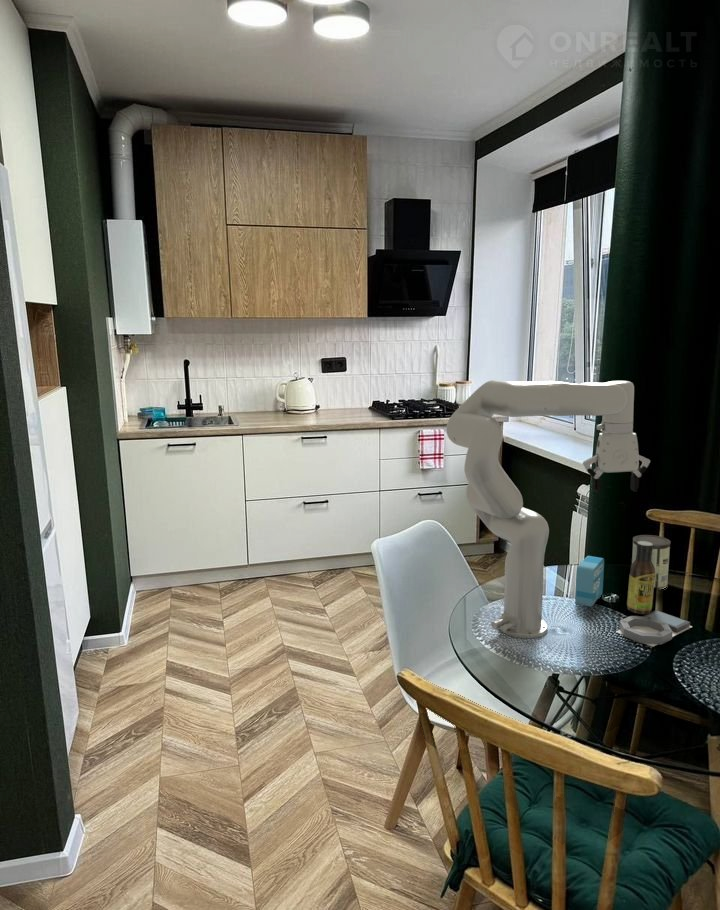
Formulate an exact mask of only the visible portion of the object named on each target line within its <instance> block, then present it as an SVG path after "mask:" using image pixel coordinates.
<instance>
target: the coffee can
mask: <svg viewBox="0 0 720 910" xmlns="http://www.w3.org/2000/svg"><path fill="white" fill-rule="evenodd" d="M639 541H646V542H650V543H652V544H653V550H652V557H651V558H652V559H651V562H652V564H653V565H654V568H655V580H654V589H658V590H661V589H664V588H666V587H667V588H668V577H669V567H670V566H669V565H670V549H671V544H672V543H671V542H672V541H671V540H670V539H668V538H667V537H664V536H663V537H662V536H659V535H655V534H654V535H653V534H639V535H635V536H633V537H632V553H631V554H632V556H631V557H632V558H631V564H632V563H633V562H634V561H635V560H636V555H637V542H639ZM667 588H666V589H667ZM664 590H665V589H664Z"/></svg>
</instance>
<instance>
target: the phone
mask: <svg viewBox="0 0 720 910" xmlns="http://www.w3.org/2000/svg"><path fill="white" fill-rule="evenodd" d="M643 617H651V618H654V619H657V620H660V621H662V622H665V623H667V624H668V625H669V627H670V628H671V630H672V631H673V632H676V633H678V632H680V631H682V630H684V629H686V628H688V627H689V626H691V621H688V620H685V619H684V618H683V619H682V618H681V617H677V616H674V615H672V614H668V613H665V612H662V611H659V610H657V609H656V610H654V611H651V612H650V613H648V614H644V615H643Z"/></svg>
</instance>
